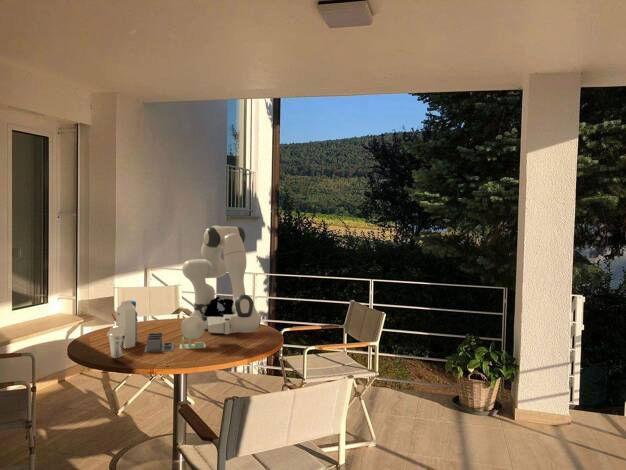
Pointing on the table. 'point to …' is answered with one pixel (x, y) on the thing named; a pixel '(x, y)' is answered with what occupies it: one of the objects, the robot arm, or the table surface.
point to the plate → (192, 327)
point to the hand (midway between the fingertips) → (197, 324)
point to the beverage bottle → (135, 320)
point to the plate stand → (191, 345)
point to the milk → (127, 322)
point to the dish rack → (157, 343)
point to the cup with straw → (116, 339)
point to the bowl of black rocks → (213, 310)
